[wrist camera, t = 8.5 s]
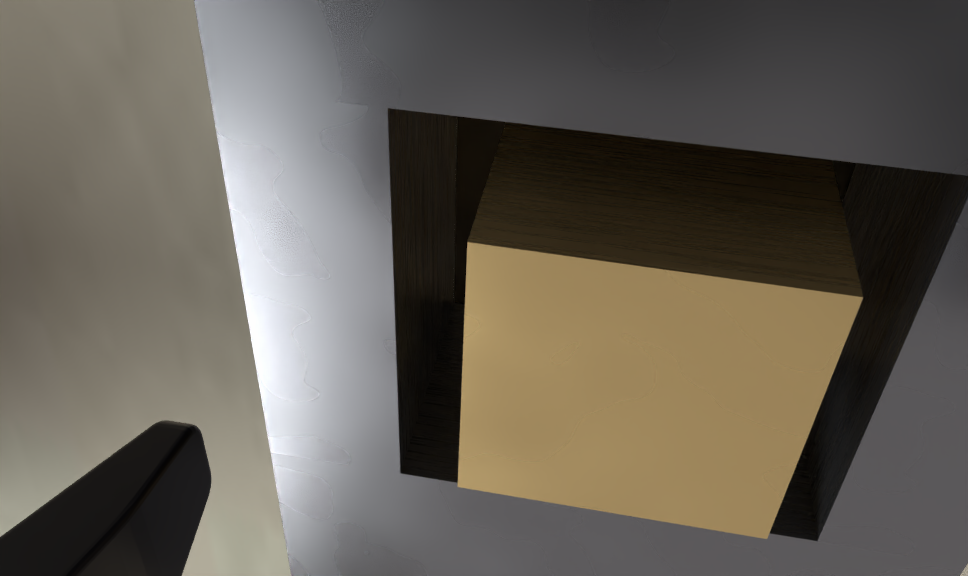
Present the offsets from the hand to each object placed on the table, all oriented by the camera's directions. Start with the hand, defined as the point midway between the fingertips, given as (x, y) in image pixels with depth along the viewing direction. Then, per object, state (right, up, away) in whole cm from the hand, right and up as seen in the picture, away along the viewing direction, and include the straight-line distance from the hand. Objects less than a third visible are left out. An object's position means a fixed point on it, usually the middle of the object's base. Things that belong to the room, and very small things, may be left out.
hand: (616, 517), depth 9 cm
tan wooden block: (+1, +4, +5) cm, 7 cm away
